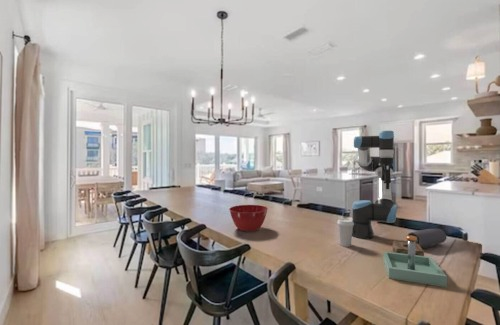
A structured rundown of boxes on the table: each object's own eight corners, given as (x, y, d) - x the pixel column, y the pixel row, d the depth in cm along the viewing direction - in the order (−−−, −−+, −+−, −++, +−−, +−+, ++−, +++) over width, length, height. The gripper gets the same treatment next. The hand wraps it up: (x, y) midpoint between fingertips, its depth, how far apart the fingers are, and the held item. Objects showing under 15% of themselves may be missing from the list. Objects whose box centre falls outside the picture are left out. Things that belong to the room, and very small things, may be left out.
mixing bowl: (222, 232, 178) (222, 210, 178) (239, 222, 205) (239, 203, 204) (260, 237, 168) (260, 213, 167) (272, 225, 194) (272, 205, 194)
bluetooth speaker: (431, 241, 159) (431, 225, 159) (447, 246, 150) (447, 229, 150) (405, 246, 151) (405, 229, 151) (420, 251, 142) (421, 234, 142)
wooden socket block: (396, 259, 131) (396, 248, 131) (392, 251, 142) (392, 241, 142) (423, 263, 127) (424, 251, 126) (417, 254, 138) (418, 243, 138)
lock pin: (407, 270, 116) (407, 237, 116) (405, 266, 120) (405, 235, 119) (417, 271, 115) (417, 238, 114) (415, 268, 118) (415, 236, 118)
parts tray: (388, 278, 111) (388, 268, 111) (382, 259, 131) (383, 251, 131) (446, 287, 104) (446, 276, 104) (431, 266, 123) (431, 257, 123)
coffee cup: (353, 243, 156) (353, 218, 156) (354, 248, 147) (354, 222, 147) (336, 241, 159) (337, 217, 159) (336, 246, 150) (337, 221, 150)
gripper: (397, 157, 136) (396, 196, 137) (390, 157, 159) (389, 190, 160) (381, 157, 139) (380, 195, 140) (376, 157, 162) (376, 190, 163)
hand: (385, 193), depth 150 cm, fingers open, 13 cm apart
